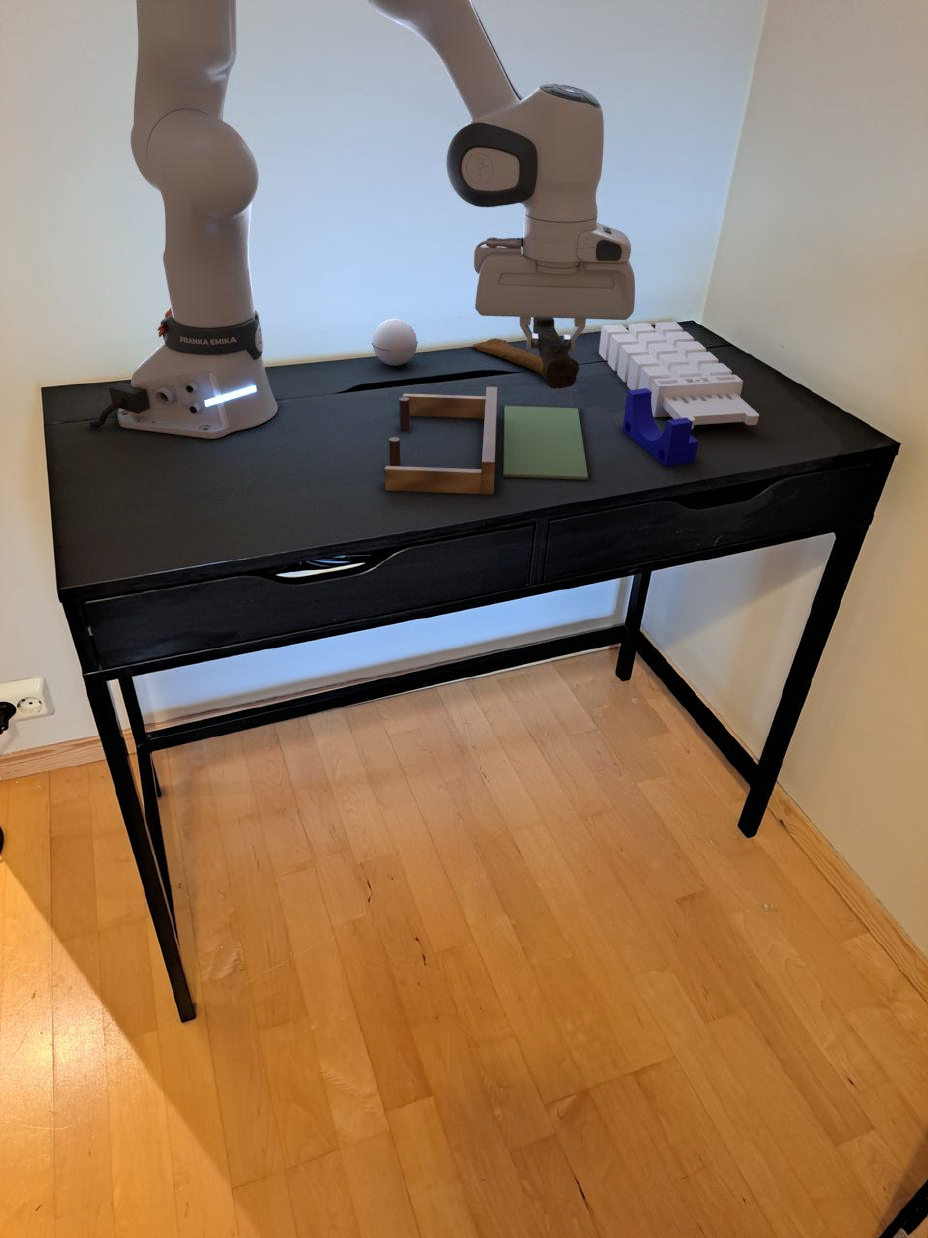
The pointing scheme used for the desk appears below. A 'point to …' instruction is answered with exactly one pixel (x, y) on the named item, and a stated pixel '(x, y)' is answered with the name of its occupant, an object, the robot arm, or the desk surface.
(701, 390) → the organizer
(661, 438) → the cable clip
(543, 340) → the hand tool
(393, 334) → the white seamed ball
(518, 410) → the mat
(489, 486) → the tool rack
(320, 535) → the desk surface
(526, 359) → the primitive tool
